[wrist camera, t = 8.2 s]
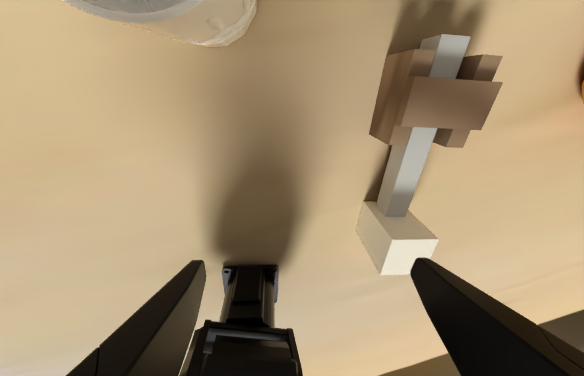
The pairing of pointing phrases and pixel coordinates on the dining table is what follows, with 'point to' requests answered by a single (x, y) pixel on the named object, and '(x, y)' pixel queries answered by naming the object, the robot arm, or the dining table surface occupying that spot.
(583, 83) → the fruit
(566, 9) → the dining table surface
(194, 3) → the white cup
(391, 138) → the housing
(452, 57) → the grey bar
